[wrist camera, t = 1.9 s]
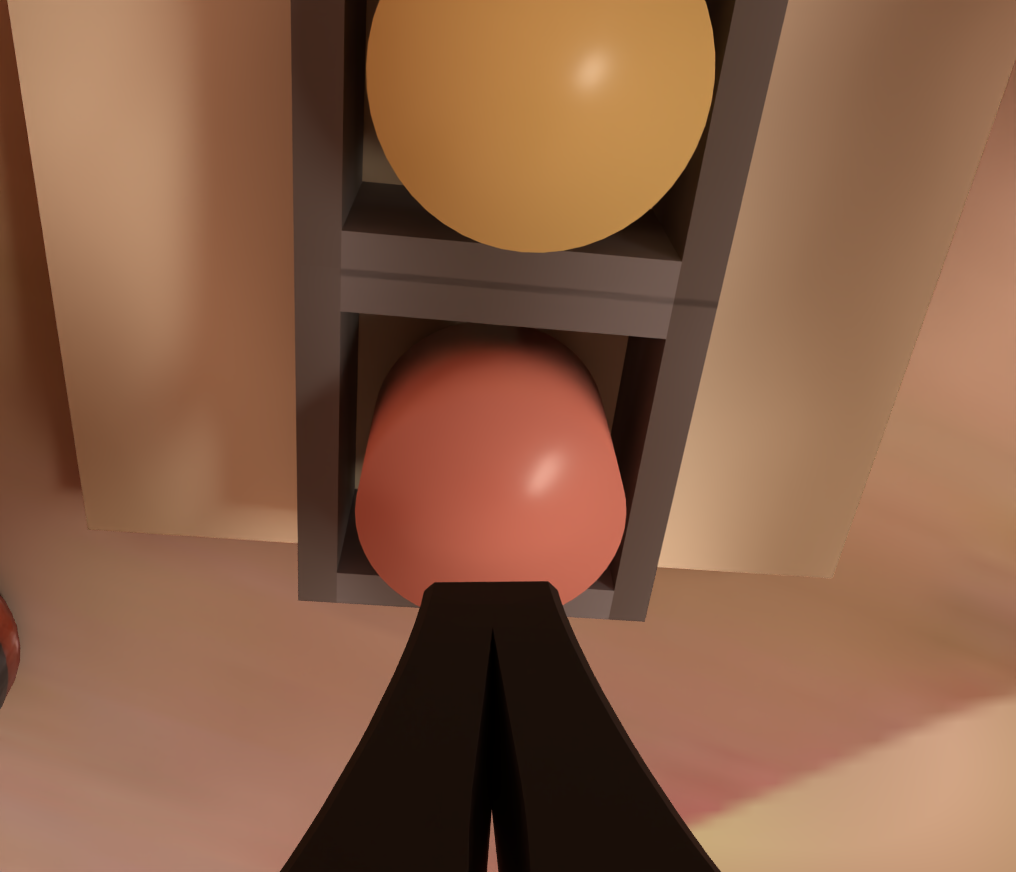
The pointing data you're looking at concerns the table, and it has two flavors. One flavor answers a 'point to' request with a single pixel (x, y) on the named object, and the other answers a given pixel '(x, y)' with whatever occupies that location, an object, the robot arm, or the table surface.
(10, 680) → the supplement bottle
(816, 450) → the button board
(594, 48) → the ochre button
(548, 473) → the brick button
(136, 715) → the table surface
